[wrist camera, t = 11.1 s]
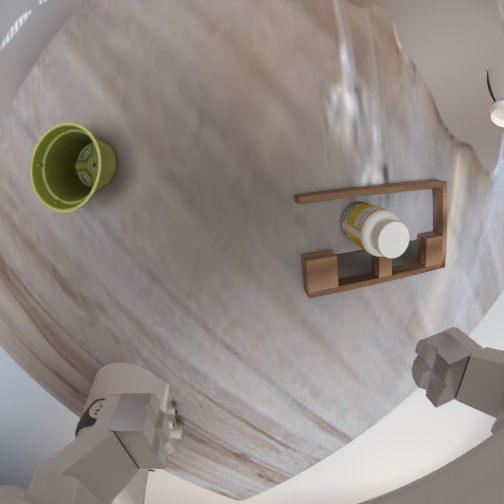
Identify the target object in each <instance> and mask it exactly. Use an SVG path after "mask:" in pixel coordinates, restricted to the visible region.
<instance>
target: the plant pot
mask: <svg viewBox="0 0 504 504" xmlns="http://www.w3.org/2000/svg"><path fill="white" fill-rule="evenodd" d="M87 149H88V150H89V151H88V152H87V153H86V154H85V155H84V157H83V158H82V155H83V153H84V152H85V150H87ZM94 163H97V165H96V166H95V167H94V166H93V164H94ZM115 171H116V155H115V153H114V151H113V149H112V148H111V147H110V146H109V145H108V144H106V143H105V142H103V141H100V140H98V139H96V138H95V137H94V135H93V134H92V133H91V132H90V131H89V130H88V129H87V128H85V127H84V126H82V125H79V124H76V123H70V122H67V123H61V124H58V125H56V126H54V127H52V128H51V129H49V130H48V131H47V132H46V133H45V134H44V135H43V136H42V137H41V138H40V140H39V141H38V143H37V145H36V147H35V149H34V152H33V154H32V158H31V165H30V177H31V183H32V187H33V189H34V192H35V194H36V196H37V197H38V199H39V200H40V201H41V202H42V203H43V204H44V205H45V206H46V207H47V208H49V209H51V210H53V211H56V212H61V213H67V212H72V211H75V210H77V209H79V208H81V207H82V206H83V205H85V204H86V203H87V202H88V201H89V200H90V198H91V197H92V196H93V194H94V192H95V191H97V190H98V189H100V188H102V187H103V186H105V185H106V184H108V183H109V182H110V180H111V179H112V178H113V176H114V174H115ZM82 174H84V176H85V177H86V178H87V179H88V180H89V182H86V181H85V180H84V179H83V177H82Z"/></svg>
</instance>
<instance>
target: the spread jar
mask: <svg viewBox="0 0 504 504" xmlns="http://www.w3.org/2000/svg"><path fill="white" fill-rule="evenodd" d="M487 84H488V88H489V91H490V94H491V96H492V98H493V100H494V101H495V103H493V104H492V105H491V106H490V109H489V111H490V117H491V120H492V121H493V123H495V124H496V125H498V126H500V127H504V65H501V66H496V67H492V68H490V69H489V70H488V71H487Z"/></svg>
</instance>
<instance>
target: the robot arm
mask: <svg viewBox="0 0 504 504" xmlns="http://www.w3.org/2000/svg"><path fill="white" fill-rule="evenodd" d="M416 353H417V354H418V356H417V358H416V359H415V360H414V362H413V367H412V373H413V378H414V381H415V383H416V384H417V385H418V387H419V388H422V389H425V390H426V396H427V398H428V399H429V400H430V401H431V402H432V404H433V405H434V406H435V407H438V406H441V405H443V404H445V403H447V402H449V401H451V400H453V399H455V398H456V399H455V400H457V401H459V402H461V403H464V404H466V405H468V406H470V407H473V408H475V409H477V410H480V411H482V412H484V413H486V414H488V415H491V416H493V417H496V418H497V419H496V421H495V423H494V424H493V426H492V429H491V432H492V433H493V435H492V436H491V437H489V438H488V439H486V440H485V441H484V442H482V443H480V444H479V445H478V446H476V447H475V448H473V449H471V450H470V451H468V452H467V453H465V454H463V455H462V456H460V457H458V458H457V459H455V460H454V461H452V462H450V463H448V464H446V465H445V466H443V467H441V468H440V469H437V470H436V471H434V472H432V473H430V474H428V475H426V476H424V477H422V478H420V479H418V480H416V481H414V482H411V483H409V484H407V485H405V486H403V487H400V488H398V489H396V490H393V491H391V492H388V493H386V494H383V495H381V496H378V497H376V498H373V499H370V500H367V501H364V502H361V503H359V504H504V351H501V350H496V349H492V348H488V347H486V348H484V349H483V348H482V347H481V346H480V345H478V344H477V343H476V342H475V341H473V340H472V339H470V337H468V336H467V335H466V334H464V333H463V332H462V331H461V330H459V329H458V328H455V327H452V328H450V329H447V330H445V331H443V332H441V333H438V334H436V335H433V336H430V337H428V338H425V339H422V340H420V341H419V342H418V344H417V346H416ZM169 389H170V385H169V384H168V383H167V382H165V381H163V380H162V379H160V378H158V377H157V376H155V375H154V374H152V373H151V372H149V371H147V370H145V369H143V368H141V367H138V366H135V365H132V364H127V363H111V364H108V365H105V366H103V367H102V368H101V369H100V370H99V371H98V372H97V374H96V376H95V379H94V382H93V385H92V387H91V390H90V393H89V396H88V398H87V401H86V404H85V407H84V411H83V414H82V417H81V419H80V421H79V422H78V424H77V429H76V432H75V435H76V439H75V440H74V441H73V442H72V443H70V444H69V445H68V446H66V447H65V448H64V449H62V450H61V451H59V452H58V453H57V454H55V455H54V456H52V457H51V458H50V459H49V460H47V461H46V462H44V463H43V464H41V465H40V466H39V467H37V469H36V471H35V474H34V476H33V478H32V481H31V483H30V486H29V489H28V491H26V490H24V489H22V488H20V487H18V486H15V485H6V486H0V504H144V498H145V490H146V483H147V476H148V471H155V470H150V469H165V468H166V462H167V455H170V454H172V453H174V452H175V451H176V448H177V443H178V439H182V438H183V428H182V427H178V426H177V424H176V419H175V415H176V413H177V410H176V408H174V407H173V406H172V401H171V396H170V391H169Z"/></svg>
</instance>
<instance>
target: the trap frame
mask: <svg viewBox="0 0 504 504" xmlns="http://www.w3.org/2000/svg"><path fill="white" fill-rule="evenodd" d="M431 188H433V232H429V233H424V234H418V235H417V240H414V241H409V244H408V247H407V249H406V250H405V252H404V253H403V254H402V255H400V256H399V257H396V258H387V257H385V256H382V257H378V256H374V255H372V254H370V253H368V252H367V251H366V250H361V251H356V252H350V253H345V254H339V255H335V254H334V253H333V252H332V251H331V250H329V251H323V252H317V253H311V254H306V255H301V257H302V267H303V278H304V289H305V292H306V293H307V295H308V297H309V298H312V297H318V296H323V295H328V294H333V293H337V292H342V291H347V290H352V289H356V288H361V287H365V286H370V285H374V284H379V283H383V282H387V281H392V280H396V279H400V278H404V277H408V276H412V275H416V274H420V273H424V272H428V271H432V270H436V269H440V268H443V267H445V259H446V240H447V185H446V181H440V180H427V181H415V182H403V183H392V184H382V185H372V186H363V187H354V188H345V189H337V190H329V191H321V192H313V193H305V194H298V195H294V196H295V202H297V203H299V204H304V203H311V202H319V201H326V200H334V199H341V198H349V197H357V196H365V195H374V194H383V193H392V192H401V191H411V190H421V189H431Z"/></svg>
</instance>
